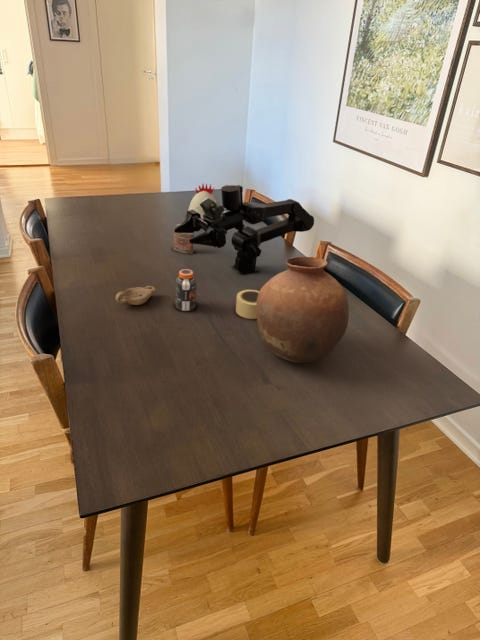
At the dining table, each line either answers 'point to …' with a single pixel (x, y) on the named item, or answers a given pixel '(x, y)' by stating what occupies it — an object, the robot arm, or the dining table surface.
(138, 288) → the oil lamp
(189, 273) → the pill bottle
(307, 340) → the pottery
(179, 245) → the red upright container
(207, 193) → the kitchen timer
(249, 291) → the tape roll
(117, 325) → the dining table surface
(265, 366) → the dining table surface
